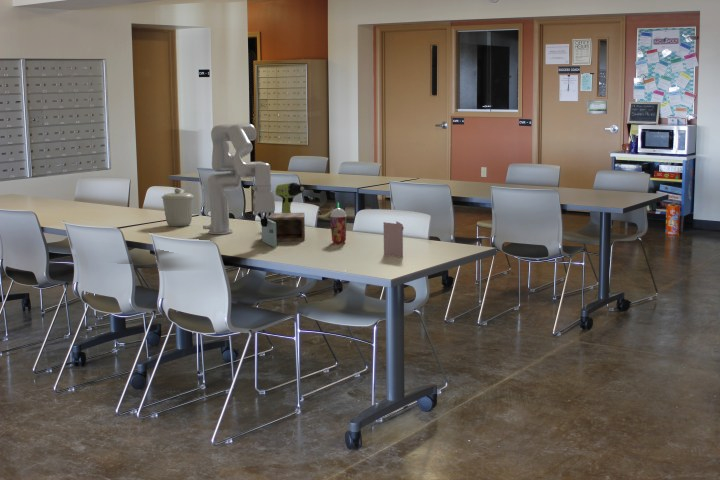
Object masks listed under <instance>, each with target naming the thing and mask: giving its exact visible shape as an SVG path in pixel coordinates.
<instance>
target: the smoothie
mask: <svg viewBox="0 0 720 480" xmlns="http://www.w3.org/2000/svg"><path fill="white" fill-rule="evenodd" d="M329 217H330V219H329V220H330V228H331V229H330V231H331V232H330V233H331V241H332V243H333V244H335V245H336V244H337V245H341V244H345V243H346V239H347V224H348V223H347V222H348V221H347V218H348V214H347V213H346V211H345V210H344V209H343V208H340V202H337V207H336V208H335V209H333V210H332V211H331V213H330V214H329Z"/></svg>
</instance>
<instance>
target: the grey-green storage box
mask: <svg viewBox="0 0 720 480" xmlns="http://www.w3.org/2000/svg"><path fill="white" fill-rule="evenodd" d="M261 240H262V242H263V243H265V244H267V245H269V246H270V247H273V248H277V247H278V246H277V243H278V241H277V239H276V222H273V221H271V220H269V219H268V224H267V227H262V226H261Z"/></svg>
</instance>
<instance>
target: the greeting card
mask: <svg viewBox="0 0 720 480" xmlns="http://www.w3.org/2000/svg"><path fill="white" fill-rule="evenodd" d="M404 228H405V227H404V225H403V224H402V223H401V222H399V221H397V220H396V223H392V222H384V221H383V256H389V257H390V256H391V257H396V258H397V257H398V258H403V257H404V237H403V235H404V234H403V233H404Z"/></svg>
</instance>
